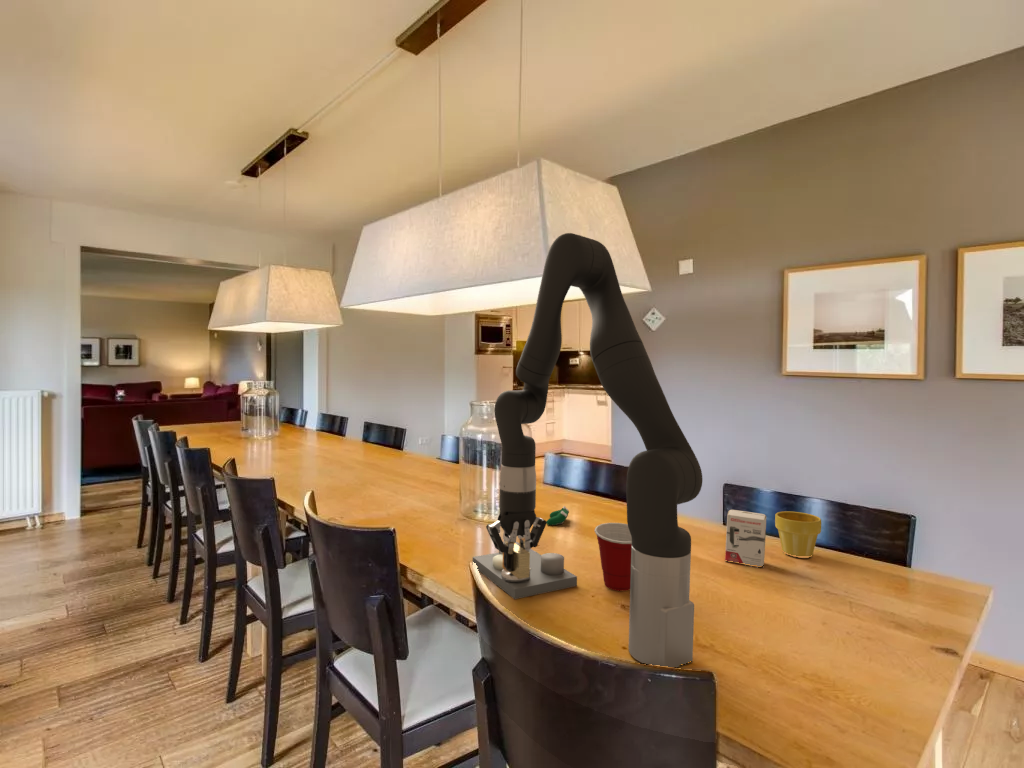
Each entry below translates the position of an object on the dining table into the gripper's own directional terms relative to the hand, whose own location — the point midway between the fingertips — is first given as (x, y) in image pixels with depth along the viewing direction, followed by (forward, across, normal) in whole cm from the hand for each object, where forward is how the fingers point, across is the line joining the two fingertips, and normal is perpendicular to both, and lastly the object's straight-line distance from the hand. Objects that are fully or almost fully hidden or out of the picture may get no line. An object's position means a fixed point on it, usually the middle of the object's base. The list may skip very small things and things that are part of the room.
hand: (516, 568), depth 112 cm
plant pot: (+4, +74, -13) cm, 75 cm away
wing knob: (+2, 0, 0) cm, 2 cm away
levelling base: (+4, +4, +5) cm, 8 cm away
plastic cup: (+4, +20, -9) cm, 22 cm away
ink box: (+4, +57, -11) cm, 58 cm away
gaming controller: (+4, +34, +36) cm, 50 cm away
